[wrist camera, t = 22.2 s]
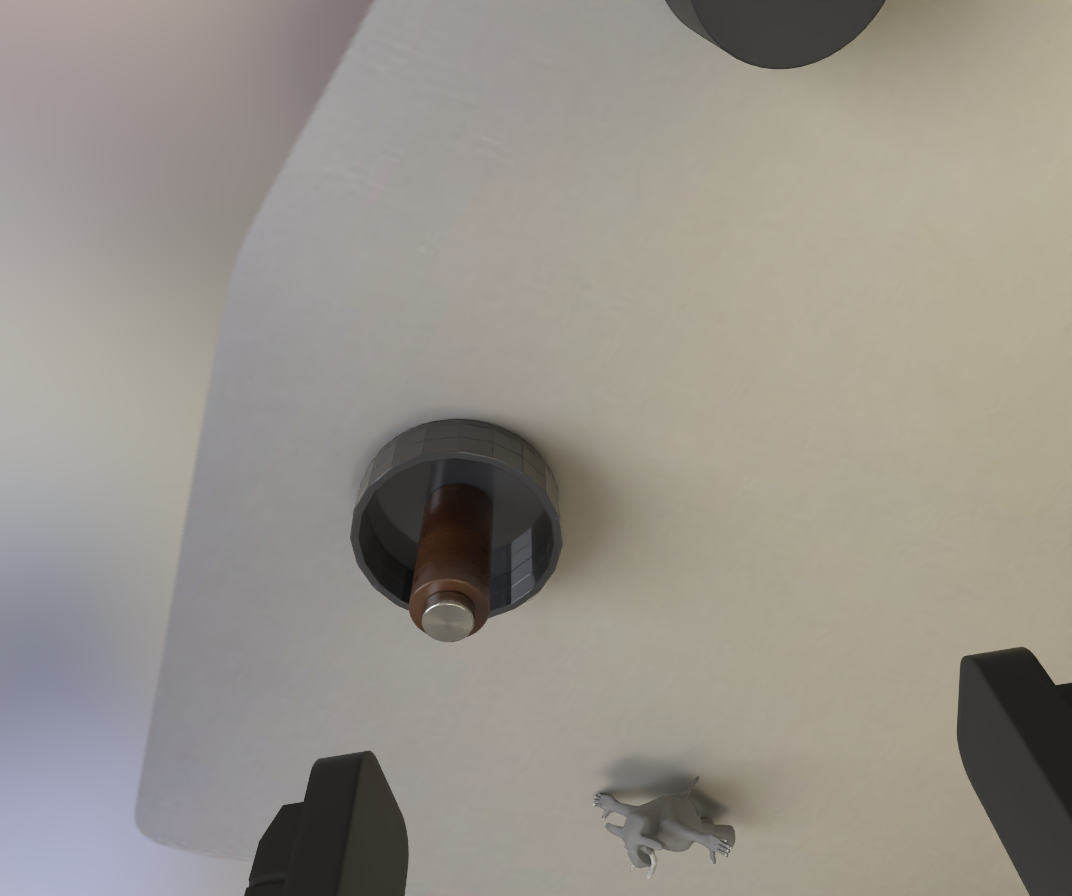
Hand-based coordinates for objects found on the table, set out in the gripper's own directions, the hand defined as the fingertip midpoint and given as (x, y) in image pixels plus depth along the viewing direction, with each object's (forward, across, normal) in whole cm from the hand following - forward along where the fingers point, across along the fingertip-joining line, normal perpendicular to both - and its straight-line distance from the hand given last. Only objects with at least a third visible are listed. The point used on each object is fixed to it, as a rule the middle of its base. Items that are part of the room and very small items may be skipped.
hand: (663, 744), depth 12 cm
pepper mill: (+28, +8, +14) cm, 32 cm away
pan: (+28, +8, +14) cm, 32 cm away
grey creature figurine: (+28, 0, +37) cm, 47 cm away
